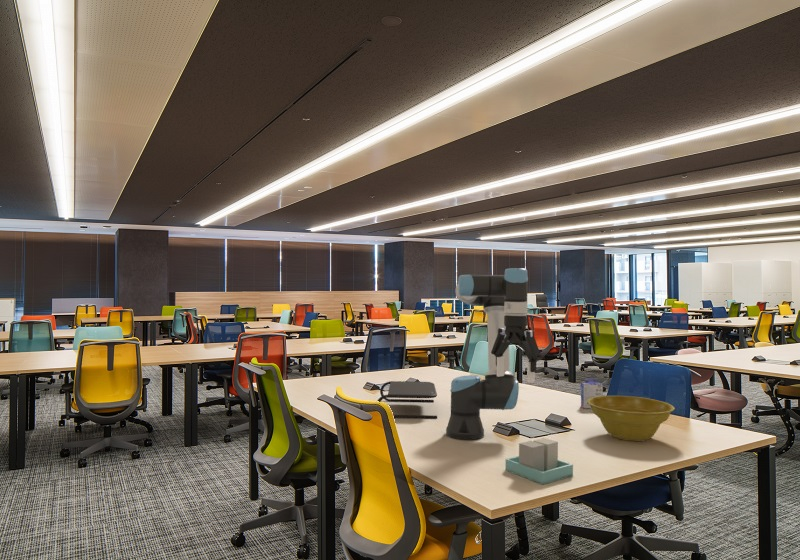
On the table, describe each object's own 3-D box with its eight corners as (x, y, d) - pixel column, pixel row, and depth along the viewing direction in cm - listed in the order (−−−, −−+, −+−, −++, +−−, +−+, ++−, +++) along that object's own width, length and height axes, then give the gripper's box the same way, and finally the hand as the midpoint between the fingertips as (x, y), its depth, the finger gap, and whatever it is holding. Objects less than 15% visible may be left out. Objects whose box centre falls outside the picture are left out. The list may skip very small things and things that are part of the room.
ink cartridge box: (599, 406, 271) (599, 377, 272) (603, 408, 266) (603, 379, 266) (580, 406, 271) (580, 377, 272) (583, 408, 266) (583, 379, 266)
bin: (505, 470, 172) (505, 459, 172) (535, 462, 180) (535, 452, 180) (542, 484, 160) (542, 472, 160) (572, 475, 168) (572, 464, 168)
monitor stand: (437, 419, 241) (437, 395, 241) (375, 418, 241) (375, 394, 241) (433, 402, 278) (433, 381, 278) (380, 401, 278) (380, 380, 278)
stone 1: (530, 468, 172) (530, 440, 172) (544, 473, 167) (544, 444, 168) (518, 471, 169) (519, 443, 169) (532, 477, 164) (532, 447, 165)
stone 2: (543, 465, 176) (543, 437, 176) (557, 469, 171) (557, 441, 172) (533, 468, 172) (533, 440, 172) (547, 473, 168) (547, 444, 168)
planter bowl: (622, 451, 195) (622, 414, 195) (571, 428, 226) (571, 396, 226) (693, 445, 203) (694, 409, 204) (635, 424, 235) (635, 394, 235)
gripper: (481, 313, 185) (480, 374, 185) (537, 316, 165) (536, 385, 164) (496, 313, 189) (496, 373, 189) (553, 316, 169) (552, 383, 168)
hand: (515, 379), depth 176 cm, fingers open, 13 cm apart
